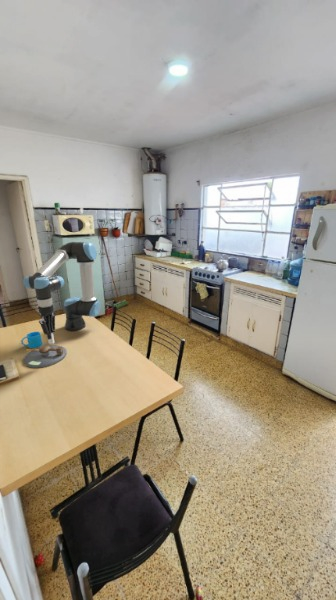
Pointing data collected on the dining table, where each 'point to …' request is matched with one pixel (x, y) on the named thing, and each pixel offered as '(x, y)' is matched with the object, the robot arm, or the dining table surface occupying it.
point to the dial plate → (43, 358)
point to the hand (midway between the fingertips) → (51, 343)
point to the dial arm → (46, 348)
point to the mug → (33, 340)
